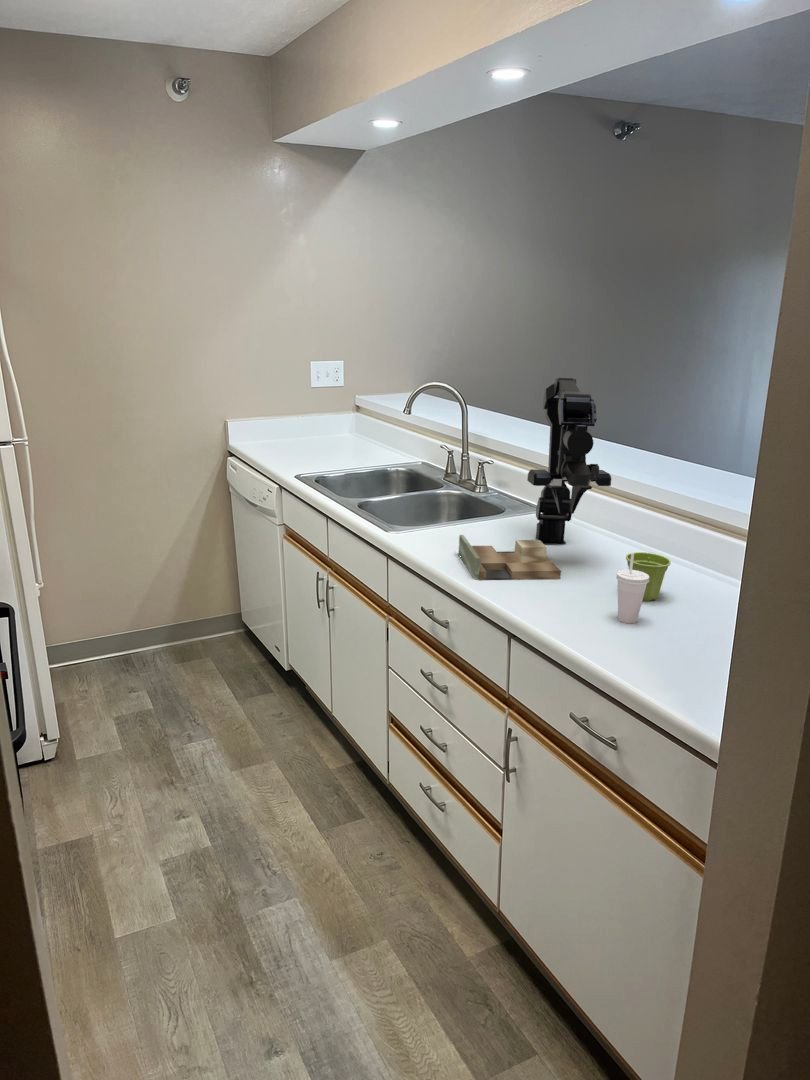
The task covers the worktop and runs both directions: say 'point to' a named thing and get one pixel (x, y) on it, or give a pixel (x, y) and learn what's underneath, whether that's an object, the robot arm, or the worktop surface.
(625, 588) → the smoothie
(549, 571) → the board
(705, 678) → the worktop surface
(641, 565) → the plant pot
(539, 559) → the birch block
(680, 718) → the worktop surface
